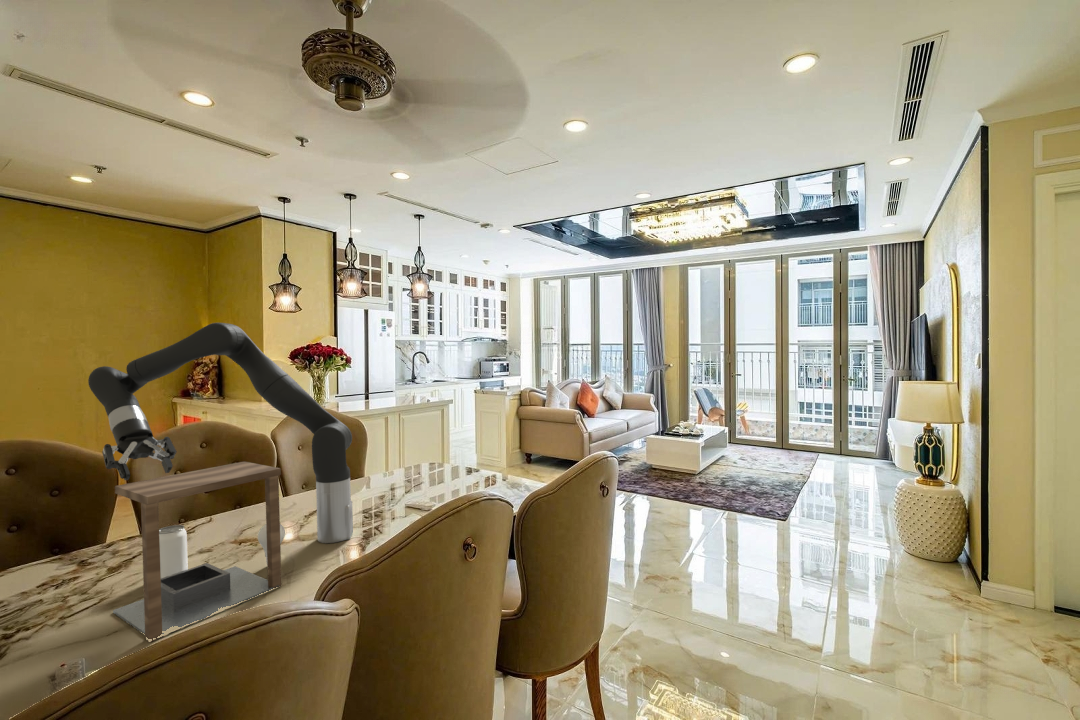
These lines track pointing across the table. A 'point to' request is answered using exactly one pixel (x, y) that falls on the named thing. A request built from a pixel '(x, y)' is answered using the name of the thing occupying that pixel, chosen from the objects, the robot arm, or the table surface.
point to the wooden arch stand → (188, 485)
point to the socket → (197, 595)
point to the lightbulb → (263, 537)
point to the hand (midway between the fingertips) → (148, 474)
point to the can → (173, 550)
